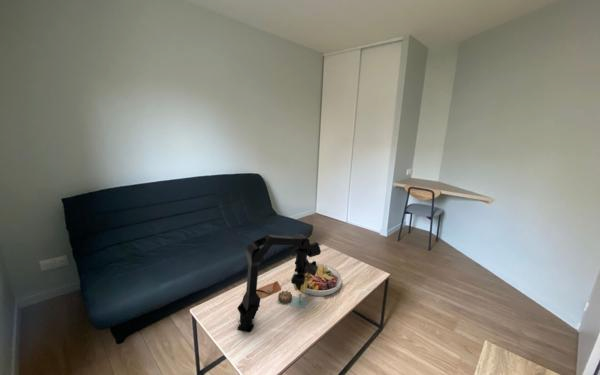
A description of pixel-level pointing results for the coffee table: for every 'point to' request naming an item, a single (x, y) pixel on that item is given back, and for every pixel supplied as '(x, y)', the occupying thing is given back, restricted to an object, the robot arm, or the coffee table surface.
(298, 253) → the robot arm
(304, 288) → the gear
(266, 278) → the coffee table surface
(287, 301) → the gear
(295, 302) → the gear board
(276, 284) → the sunglasses case
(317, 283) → the bowl
